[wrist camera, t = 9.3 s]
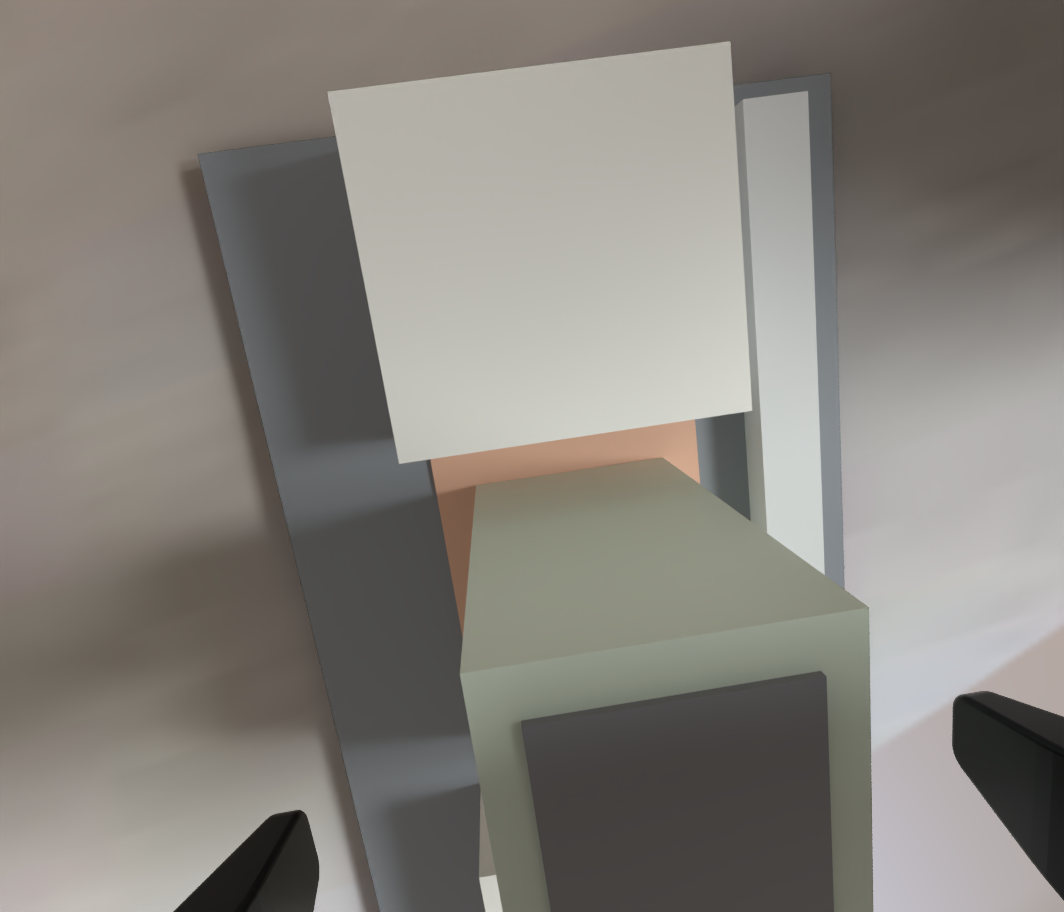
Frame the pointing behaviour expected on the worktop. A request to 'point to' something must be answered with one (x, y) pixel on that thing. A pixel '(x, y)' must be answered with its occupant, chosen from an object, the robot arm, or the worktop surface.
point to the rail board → (393, 500)
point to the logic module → (662, 702)
